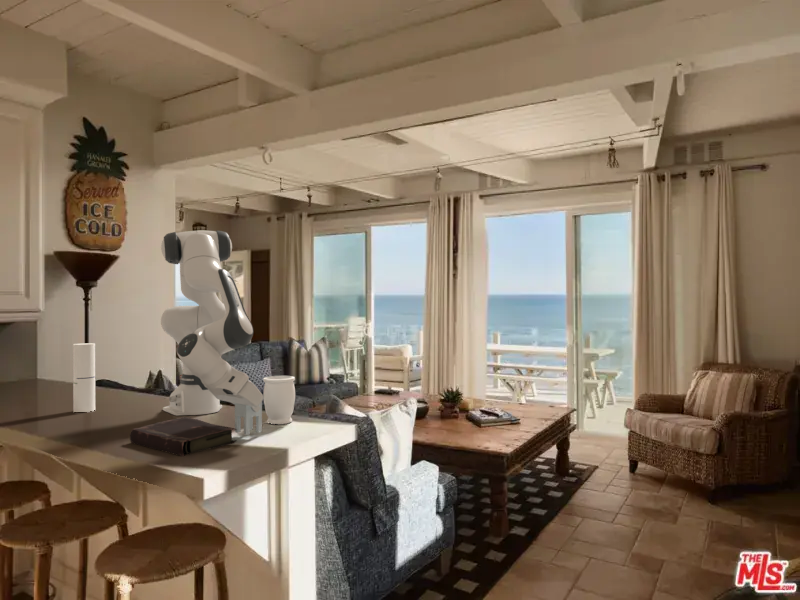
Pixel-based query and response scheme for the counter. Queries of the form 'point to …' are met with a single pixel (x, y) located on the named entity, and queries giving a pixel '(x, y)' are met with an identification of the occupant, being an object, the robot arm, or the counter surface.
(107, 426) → the counter surface
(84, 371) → the miniature refrigerator
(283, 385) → the jar
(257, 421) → the stool
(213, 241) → the robot arm
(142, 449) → the counter surface
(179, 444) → the diary
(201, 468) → the counter surface
